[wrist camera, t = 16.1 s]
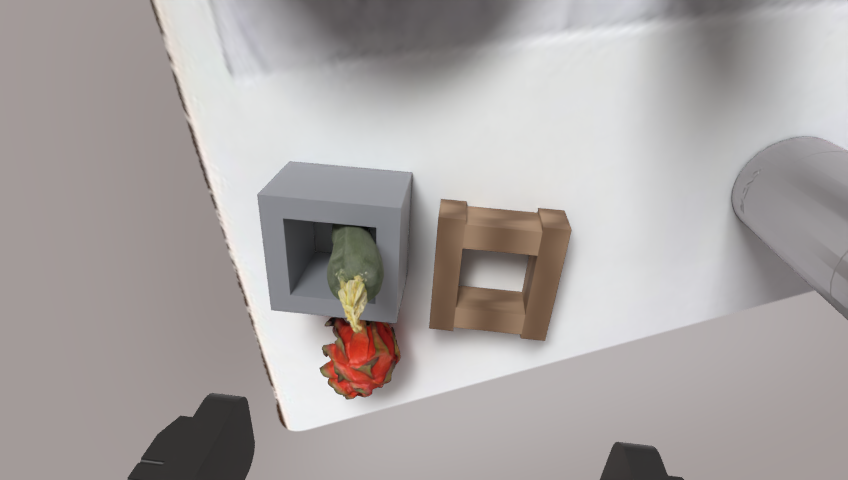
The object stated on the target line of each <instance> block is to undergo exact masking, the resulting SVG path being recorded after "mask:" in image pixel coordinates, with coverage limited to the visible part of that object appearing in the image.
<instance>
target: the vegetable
mask: <svg viewBox="0 0 848 480" xmlns="http://www.w3.org/2000/svg"><path fill="white" fill-rule="evenodd" d="M331 239H332V242H333V245H334V246H333V251H332V255H331V257H330V260H329V264H328V267H327V280H328V285H329V288H330V290H331V292H332V294H333V295H334V296H335V297H336V298H337V299H339V300H340V301H341V303H342V306H343V308H344V311H345V317H348V318H347V321H349V322H350V325H351V327H352V328H353V331H354V332H356V334H357V333H362V332H361V330H362V324H360V320H359V318H360V316H361V314H362V313H363V311H364V308H365V305H366V303H367V302H369V301H370V300H371V299H373V298H374V297H375V296H376V295H377V294H378V293H379V292H380V289H381V286H382V282H383V278H384V267H383V262H382V257H381V255H380V253H379V250H378V248H377V246H376V244H375V242H374V240H373V238H372V236H371V233H370V231H369V229H368V227H367V226H357V225H346V224H336V223H333V225H332V234H331Z"/></svg>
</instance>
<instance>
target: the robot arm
mask: <svg viewBox="0 0 848 480" xmlns="http://www.w3.org/2000/svg"><path fill="white" fill-rule="evenodd" d="M732 203H733V207H734V211H735V212H736V214H737V216H738V218H739V219H740V220H742V221H743V222H744V223H745V224H746V225H747V226H748V227H749V228H750V229H751V230H752V231H753V232H754V233H755V234H756V235H757V236H758V237H759V238H760V239H761V240H762V241H763V242H764V243H765V244H766V245H768V246H769V247H770V248H771V249H772V250H773V251H774V252H775V253H776V254H777V255H778V256H779V257H780V258H781V259H783V260H784V261H785V262H786V263H787V264H788V265H789V266H790V267H791V268H792V269H793V270H794V271H795V272H796V273H798V274H799V275H800V276H801V277H802V278H803V279H804V280H805V281H806V282H807V283H808V284H809V285H810V286H811V287H813V288H814V289H815V290H816V291H817V292H818V293H819V294H820V295H821V296H822V297H823V298H824V299H825V300H827V301H828V302H829V303H830V304H831V305H832V306H833V307H834V308H835V309H836V310H837V311H838V312H839V313H841V314H842V315H843V316H844V317H845V318H846V319H847V320H848V151H847V150H845V149H843V148H841V147H839V146H837V145H835V144H833V143H831V142H829V141H826V140H823V139H820V138H815V137H796V138H791V139H787V140H784V141H780V142H778V143H776V144H774V145H771V146H769V147H767V148H766V149H764V150H763V151H761V152H760V153H758V154H757V155H756V156H755V157H754V158H753V159H751V160H750V161H749V162H748V163H747V165H746V166H745V167H744V168H743V170H742V171H741V172H740V174H739V176H738V178H737V180H736V182H735V185H734V188H733V192H732ZM254 448H255V441H254V435H253V429H252V423H251V417H250V411H249V405H248V401H247V399H246V398H245V397H241V396H232V395H224V394H215V393H211V394H209V395H208V396H207V397H206V398H205V399H204V400H203V402H202V403H201V405H200V407H199V408H198V410H197V411H196V413H195V415H194V416H193V417H187V416H180V417H178V418H177V419H176V420H175V421H174V422H172V423H171V424H170V425H169V426H167V427H166V428H165V429H164V430H162V431H161V432H160V433H159V434H158V435H157V436H156V438H155V439H154V440H153V442H152V443H151V445H150V446H149V448H148V449H147V450H146V452H145V453H144V455H143V456H142V458H141V462H140V463H138V464H137V465H136V467H135V468H134V469H133V471H132V472H131V474H130V475H129V477H128V480H245V478H246V476H247V474H248V472H249V469H250V466H251V463H252V459H253V455H254ZM600 480H684V479H683V478H682V477H673V476H668V475H667V473H666V470H665V467H664V464H663V462H662V459H661V457H660V454H659V452H658V451H657V449H656V448H655V447H653V446H648V445H640V444H631V443H623V442H616V443H615V444H614V445H613V447H612V450H611V452H610V455H609V457H608V460H607V462H606V465H605V468H604V470H603V473H602V476H601V478H600Z"/></svg>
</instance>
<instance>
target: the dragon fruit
mask: <svg viewBox="0 0 848 480" xmlns="http://www.w3.org/2000/svg"><path fill="white" fill-rule="evenodd" d="M360 324H362V330H361V332H362V333H357V334H356V332H354V331H353V328H352V327H351V325H350V324H348V323H347V322H346V321H345V320H344V319H343V318H337V317H333V318H330V319H329V320H328V321H327V322H326V324H325V326H327V327H328V326H334V327H335V328H336V329H335V328H334V327H333V333H334V334H335V336H336V337H337V338H338V339H337V340H336V341H335V344H333V343H332V344H329V345H323V347H322V350H323V354H324V355H325V356H326V357H327V356H329V357H330V358H331V361H330V362H328V363H326V364H325V365H324V366H322V367H321V368H320V371H321V373H322V375H323V376H325V377H327V378H329V379H328V384H329V386H331V387H332V388H334V390H335V392H336V393H337V394H340V395H343V396H344V397H345V398H346V399H353V398H355V397H356V396H357V395H358V396H361V397H367V396H370V395H371V394H372V390H373V389H375V388H377V387H379V388H382V387H383V385H384V384H385V383H388V382H390V381H391V374H392V371H393V369H394V368H395V365H396V364H397V363H398V362H399V360H400V356H401V355H400V351H399V348H398V345H397V340H396V339H395V333H394V329H393V327H391V328H390V326H389V324H388V323H387V322H378V321H369V320H360Z"/></svg>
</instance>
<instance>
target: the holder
mask: <svg viewBox="0 0 848 480" xmlns="http://www.w3.org/2000/svg"><path fill="white" fill-rule="evenodd" d="M411 184H412V172H401V171H390V170H379V169H368V168H357V167H346V166H335V165H324V164H313V163H302V162H291V161H290V162H289V163H288V164H287V165H286V166H285V167H284V168H283V169H282V170H281V171H280V172H279V173H278V174H277V175H276V176H275V177H274V178H273V179H272V180H271V181H270V182H269V183H268V184H267V185H266V186H265V187H264V188H263V189H262V190H261V191H260V192H259V193H258V194H257V196H258V205H259V213H260V221H261V229H262V238H263V246H264V254H265V263H266V271H267V279H268V287H269V296H270V304H271V310H275V311H285V312H294V313H303V314H313V315H322V316H331V317H341V318H348V317H345V311H344V308H343V306H342V303H341V301H340V300H339V299H337V298H336V297H335V296H334V295H333V294H332V292H331V290H330V288H329V285H328V280H327V267H328V264H329V260H330V257H331V255H332V253H325V252H315V241H314V224H313V221H315V222H326V223H336V224H346V225H357V226H367V227H376V246H377V248H378V250H379V253H380V255H381V257H382V262H383V267H384V278H383V282H382V286H381V289H380V292H379V293H378V294H377V295H376V296H375V297H374V298H373V299H371V300H370V301H369V302H367V303H366V305H365V308H364V311H363V313H362V314H361V316H360V318H359V320H369V321H378V322H387V323H397V318H398V314H399V309H400V305H401V300H402V296H403V291H404V287H405V282H406V278H407V263H408V243H409V223H410V204H411Z"/></svg>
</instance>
